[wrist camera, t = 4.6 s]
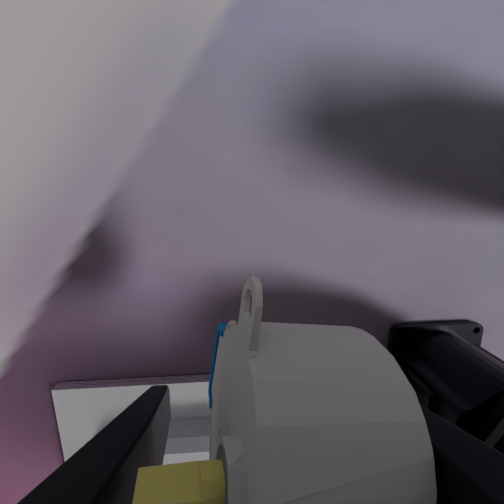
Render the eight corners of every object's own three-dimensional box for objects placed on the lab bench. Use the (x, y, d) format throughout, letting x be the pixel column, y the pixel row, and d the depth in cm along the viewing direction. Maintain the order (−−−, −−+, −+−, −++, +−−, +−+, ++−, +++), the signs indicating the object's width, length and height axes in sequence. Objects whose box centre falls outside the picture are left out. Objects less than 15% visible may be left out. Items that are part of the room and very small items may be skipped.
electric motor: (171, 240, 7) (143, 336, 3) (330, 259, 9) (506, 349, 4) (147, 453, 9) (100, 771, 4) (288, 443, 10) (380, 678, 5)
